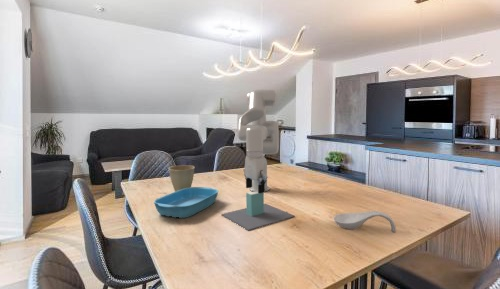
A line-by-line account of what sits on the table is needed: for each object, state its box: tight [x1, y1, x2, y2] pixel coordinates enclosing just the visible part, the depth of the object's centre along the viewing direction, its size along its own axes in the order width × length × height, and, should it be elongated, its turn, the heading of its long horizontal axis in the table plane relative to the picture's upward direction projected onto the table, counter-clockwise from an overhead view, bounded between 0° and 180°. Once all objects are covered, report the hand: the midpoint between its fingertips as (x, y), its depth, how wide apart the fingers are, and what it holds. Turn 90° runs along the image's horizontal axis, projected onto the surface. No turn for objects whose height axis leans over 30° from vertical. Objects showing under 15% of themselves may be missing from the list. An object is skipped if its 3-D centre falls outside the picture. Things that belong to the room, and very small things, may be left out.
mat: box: [221, 203, 296, 232], centre depth 133 cm, size 22×26×1 cm
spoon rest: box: [333, 210, 397, 233], centre depth 118 cm, size 24×12×7 cm, turn 74°
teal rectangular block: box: [245, 191, 265, 216], centre depth 134 cm, size 4×7×10 cm, turn 125°
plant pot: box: [168, 164, 196, 192], centre depth 170 cm, size 15×15×16 cm
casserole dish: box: [153, 186, 219, 219], centre depth 145 cm, size 37×22×7 cm, turn 157°
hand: (255, 190), depth 134 cm, fingers open, 9 cm apart
